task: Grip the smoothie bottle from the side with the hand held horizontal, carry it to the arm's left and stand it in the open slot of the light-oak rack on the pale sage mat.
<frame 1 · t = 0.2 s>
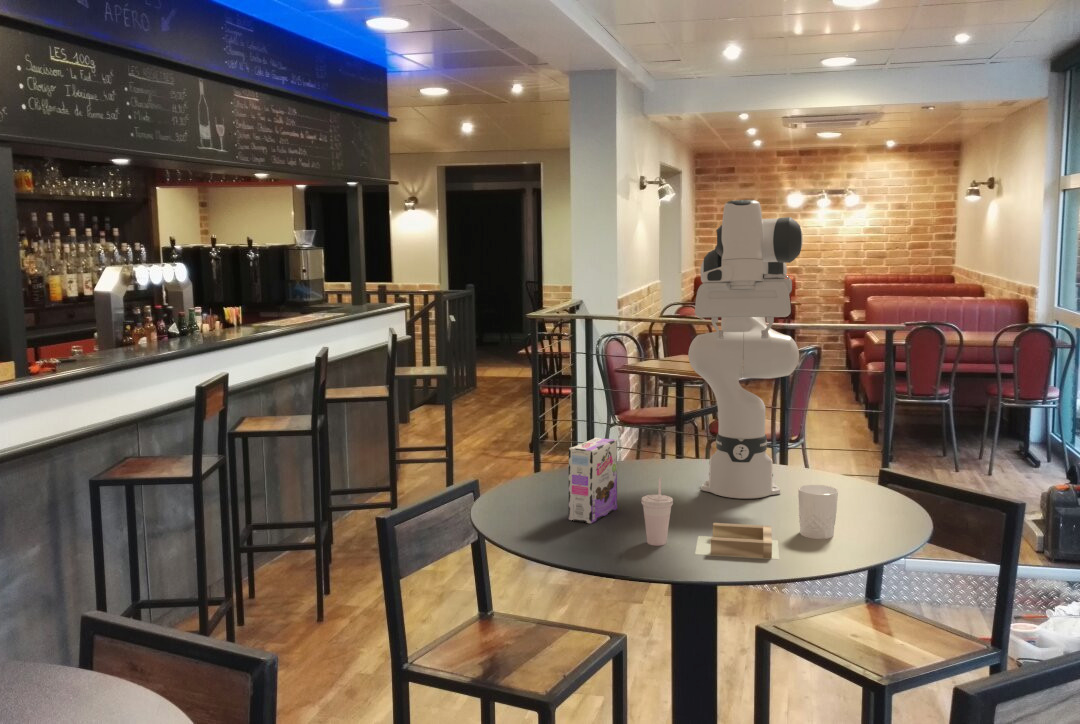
hand: (742, 338, 215), 40 cm above the table, tool pointing down, fingers open, 8 cm apart
rack: (737, 547, 199), resting on mat
candy box: (593, 515, 224), on the table
smoothie: (656, 545, 202), on the table
mat: (737, 549, 199), on the table
white cup: (816, 537, 207), on the table
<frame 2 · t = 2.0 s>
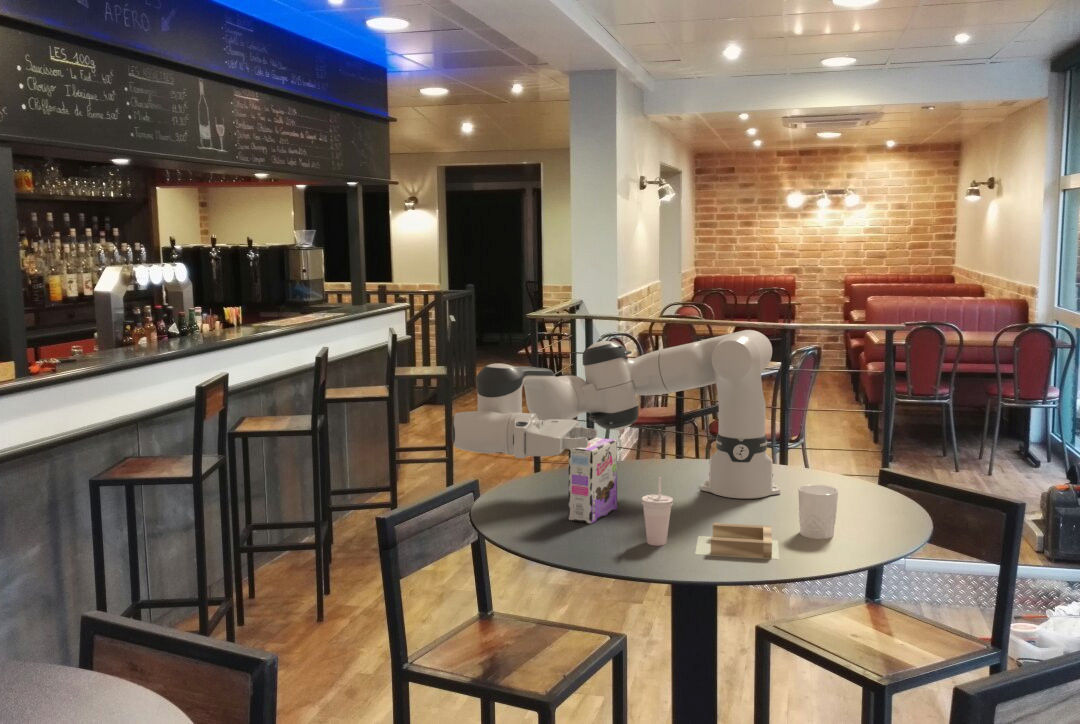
hand: (592, 438, 203), 21 cm above the table, tool horizontal, fingers open, 8 cm apart
nothing on the table moved.
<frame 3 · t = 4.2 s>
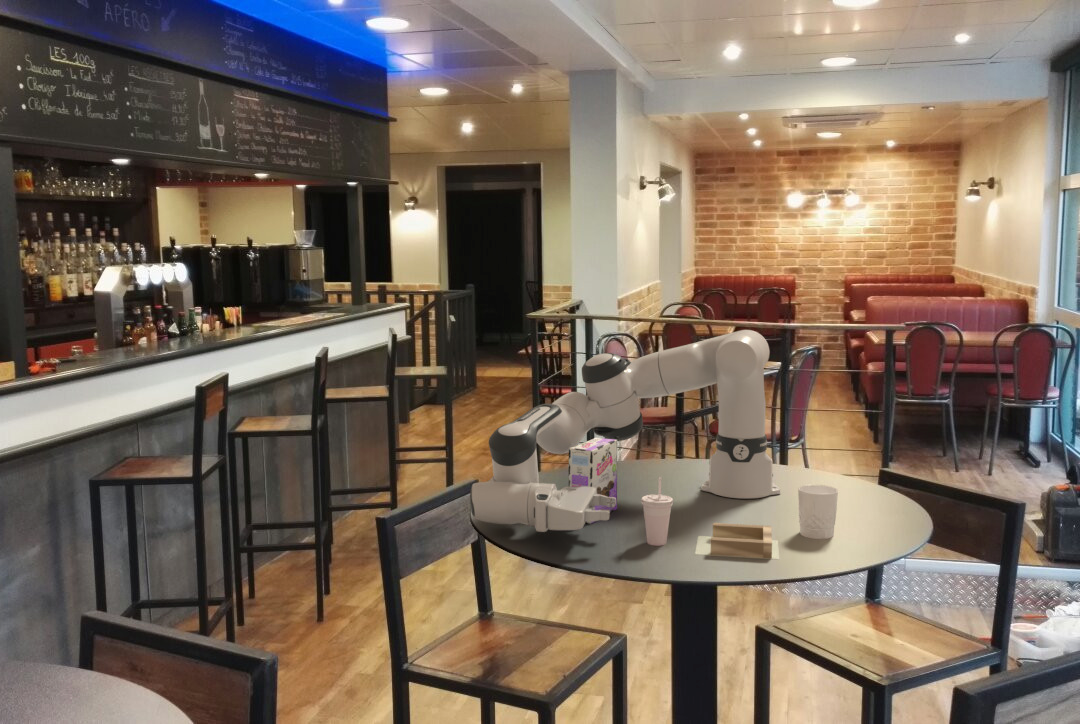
hand: (612, 508, 203), 7 cm above the table, tool horizontal, fingers open, 8 cm apart
nothing on the table moved.
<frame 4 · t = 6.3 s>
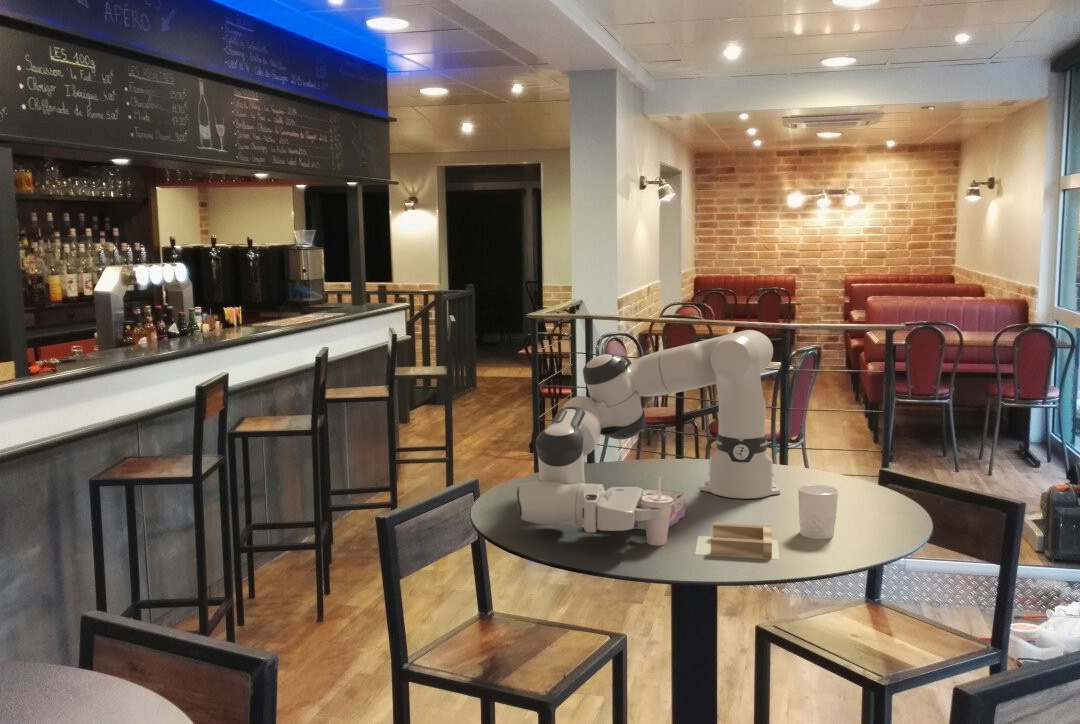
hand: (661, 508, 201), 8 cm above the table, tool horizontal, fingers closed on smoothie, 6 cm apart
candy box: (604, 504, 223), point 3 cm above the table
smoothie: (656, 545, 202), on the table, touching gripper
everything else where it was.
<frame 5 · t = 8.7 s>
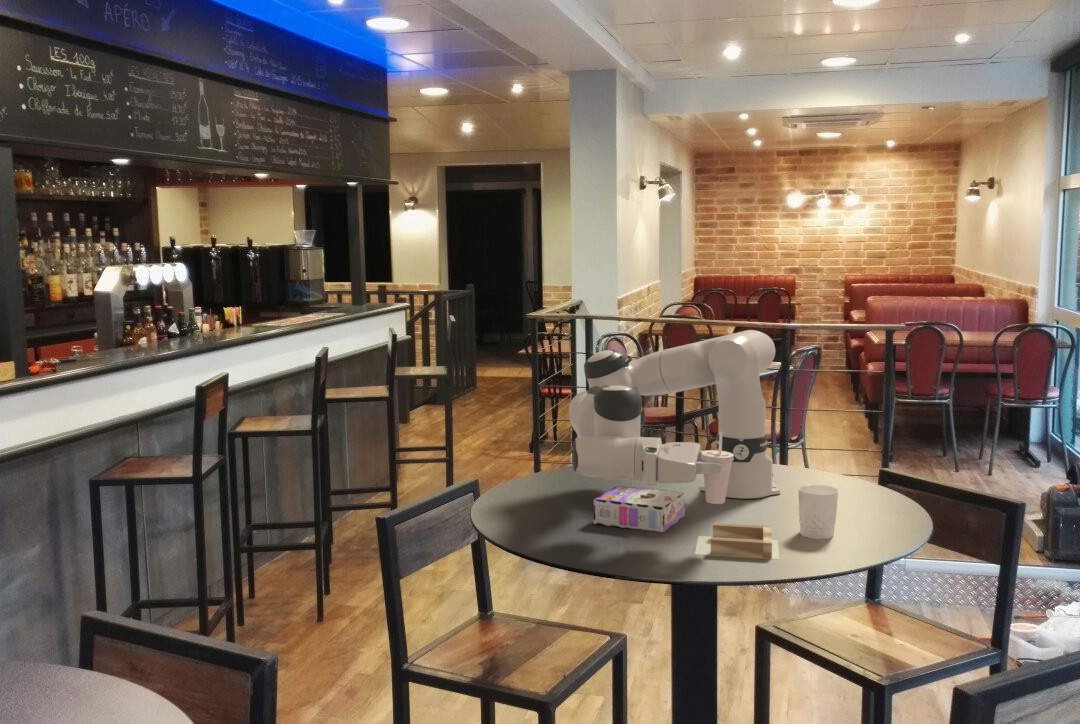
hand: (721, 462, 197), 18 cm above the table, tool horizontal, fingers closed on smoothie, 6 cm apart
smoothie: (715, 502, 198), point 10 cm above the table, touching gripper
everything else where it was.
when the fingers open (10 cm above the table, at t = 11.2 s): smoothie drops 1 cm, resting on mat.
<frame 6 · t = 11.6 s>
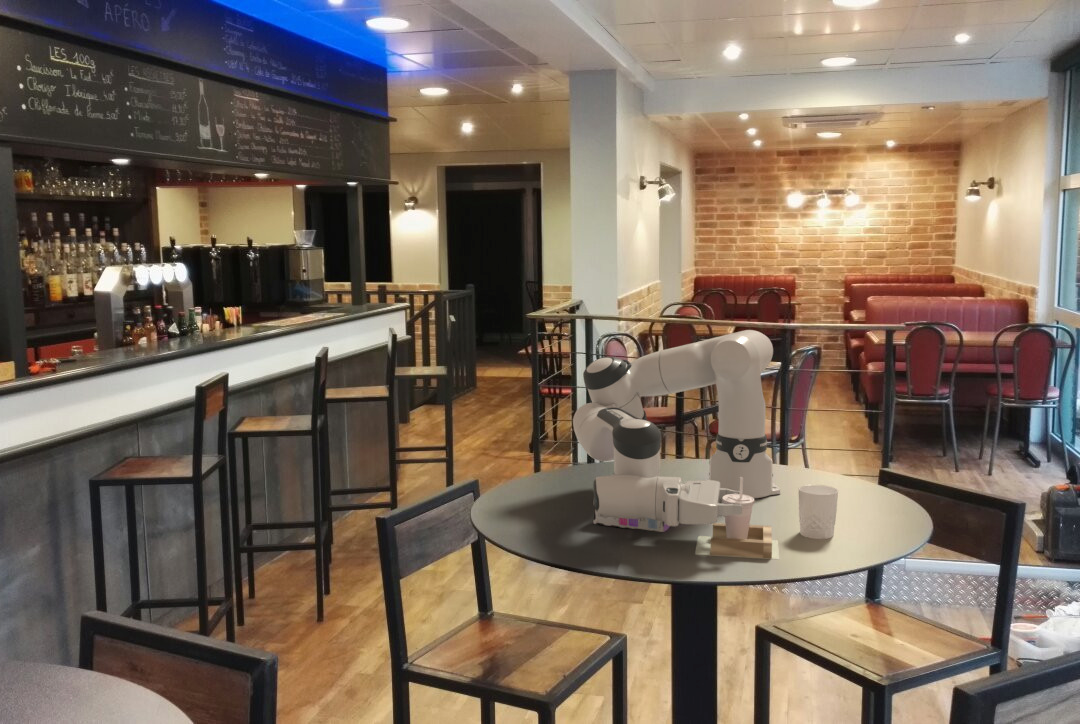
hand: (742, 502, 198), 10 cm above the table, tool horizontal, fingers open, 8 cm apart
smoothie: (736, 545, 200), resting on mat, touching gripper
everything else where it was.
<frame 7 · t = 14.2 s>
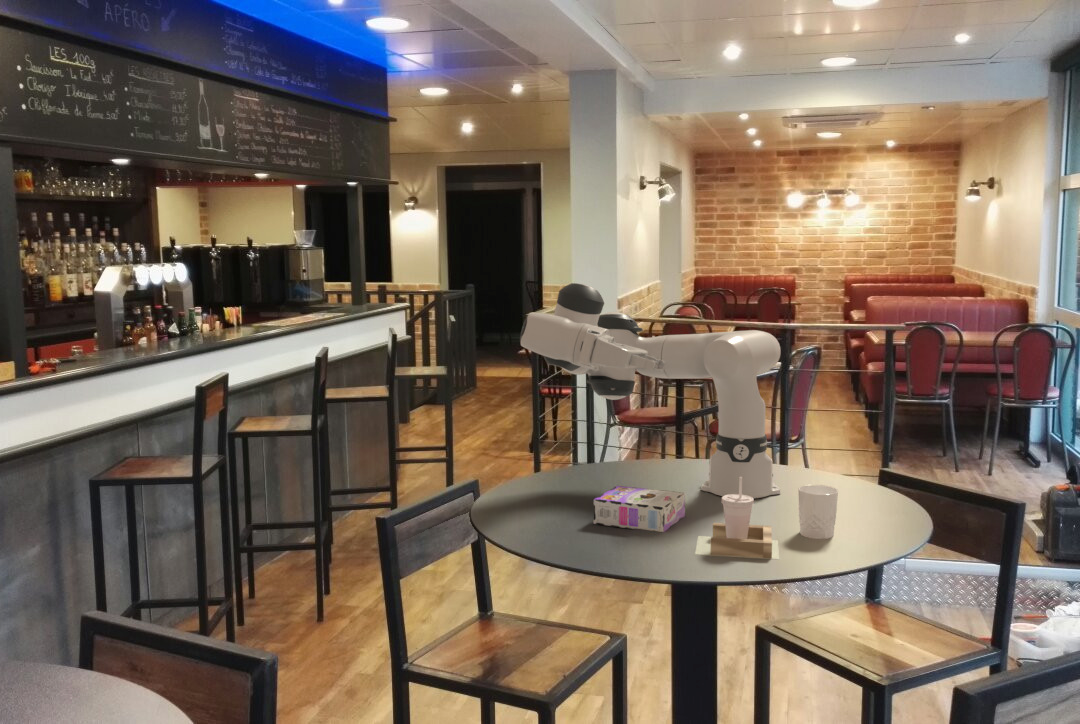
hand: (659, 365, 200), 36 cm above the table, tool horizontal, fingers open, 8 cm apart
smoothie: (736, 546, 200), resting on mat
everything else where it was.
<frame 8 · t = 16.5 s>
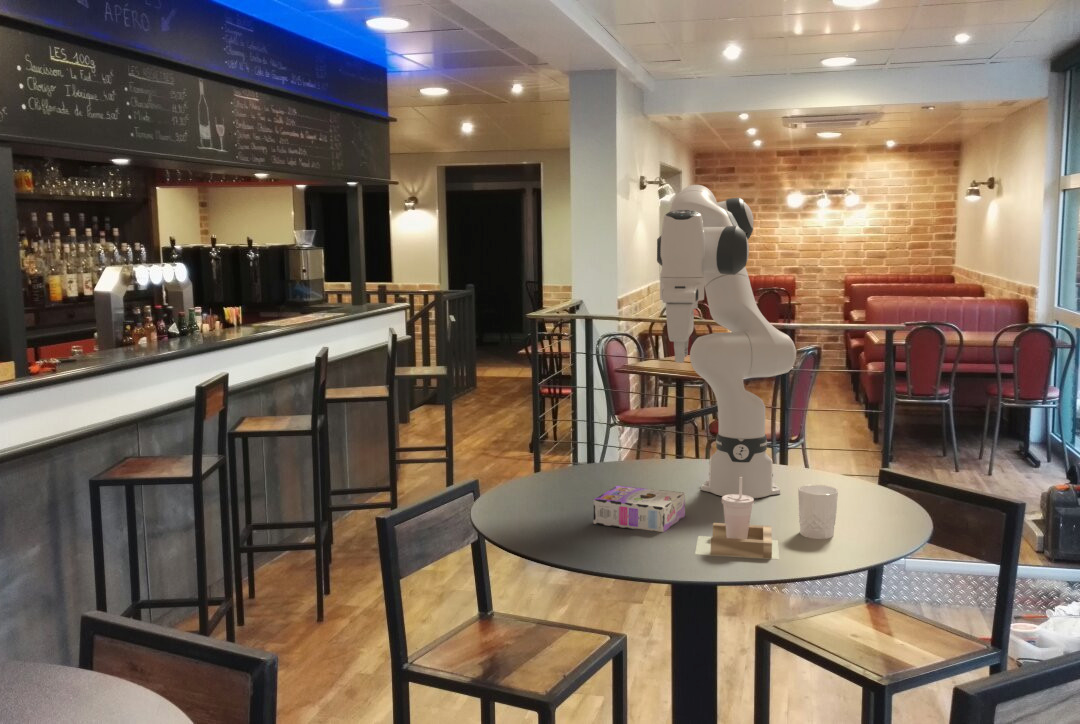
hand: (681, 359, 204), 37 cm above the table, tool pointing down, fingers open, 8 cm apart
nothing on the table moved.
at the end: smoothie inside the target area on the rack (1.2 cm from its centre), point 0.0 cm above the rack's base; smoothie tilted 0°; the gripper is holding nothing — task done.
